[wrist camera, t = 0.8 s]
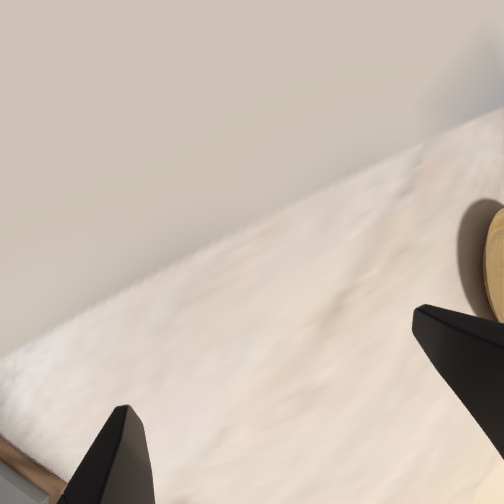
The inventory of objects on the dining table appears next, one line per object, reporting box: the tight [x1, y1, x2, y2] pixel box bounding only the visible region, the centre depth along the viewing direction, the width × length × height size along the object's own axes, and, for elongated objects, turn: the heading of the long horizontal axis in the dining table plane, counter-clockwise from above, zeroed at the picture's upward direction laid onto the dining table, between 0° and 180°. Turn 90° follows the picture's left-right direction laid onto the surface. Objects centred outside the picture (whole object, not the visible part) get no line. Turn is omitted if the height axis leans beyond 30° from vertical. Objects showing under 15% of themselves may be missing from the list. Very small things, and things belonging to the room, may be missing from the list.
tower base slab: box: [0, 437, 68, 504], centre depth 16 cm, size 10×10×2 cm
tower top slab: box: [0, 460, 49, 504], centre depth 14 cm, size 8×8×2 cm
